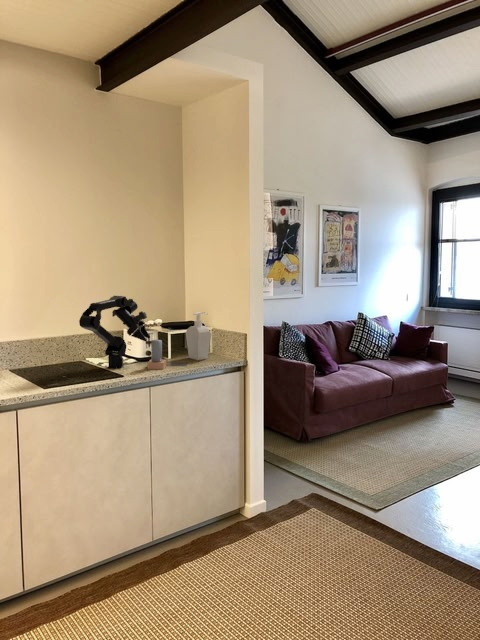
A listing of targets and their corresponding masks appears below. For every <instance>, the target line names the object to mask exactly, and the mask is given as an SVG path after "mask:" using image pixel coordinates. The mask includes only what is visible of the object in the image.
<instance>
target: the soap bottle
mask: <svg viewBox="0 0 480 640" xmlns="http://www.w3.org/2000/svg"><path fill="white" fill-rule="evenodd" d="M201 314H205V315H208V313H206V312H204V311H196V312H194V313H193V316H196V319H195V320H194V325H193V326H192V325H190V326H189V327H188V328H187V329H186V331H185V337H186V345H187V352H188V358H189V359H191V360H196V361H202V360H208V358H209V351H210V345H211V338H212V333H211V331H210V330H209V327H207V326H205V325H203V320H202V319H201Z"/></svg>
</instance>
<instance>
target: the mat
mask: <svg viewBox="0 0 480 640" xmlns="http://www.w3.org/2000/svg"><path fill="white" fill-rule="evenodd" d="M188 364H189V362H171V363H170V364H169V365H168V366H169V367H187V366H188Z"/></svg>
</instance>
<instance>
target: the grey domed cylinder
mask: <svg viewBox="0 0 480 640" xmlns="http://www.w3.org/2000/svg"><path fill="white" fill-rule="evenodd" d="M151 360H152V362H162V360H163V340H162V339H151Z"/></svg>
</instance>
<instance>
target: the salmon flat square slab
mask: <svg viewBox="0 0 480 640" xmlns="http://www.w3.org/2000/svg"><path fill="white" fill-rule="evenodd" d="M166 367H167V360H166V359H162V362H152V359H149V361H148V362H147V370H164V369H165V368H166Z"/></svg>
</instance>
